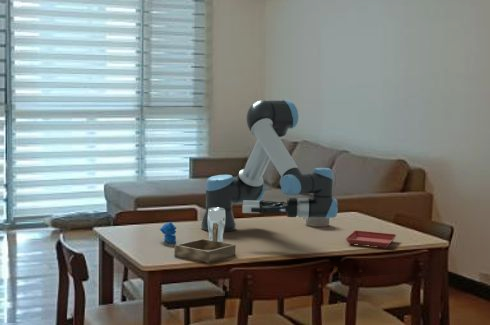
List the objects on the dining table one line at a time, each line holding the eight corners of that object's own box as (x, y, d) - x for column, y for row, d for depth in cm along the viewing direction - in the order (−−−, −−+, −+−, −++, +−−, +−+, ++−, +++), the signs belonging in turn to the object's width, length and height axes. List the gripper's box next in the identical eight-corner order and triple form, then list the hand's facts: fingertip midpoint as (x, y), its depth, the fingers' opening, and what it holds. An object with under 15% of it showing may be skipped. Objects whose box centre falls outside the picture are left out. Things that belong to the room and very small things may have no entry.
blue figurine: (171, 222, 311) (183, 220, 301) (172, 242, 310) (185, 241, 300) (155, 223, 307) (167, 222, 298) (156, 244, 307) (168, 243, 297)
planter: (333, 225, 351) (334, 204, 350) (322, 228, 342) (323, 207, 341) (312, 222, 357) (313, 202, 356) (301, 225, 348) (302, 204, 347)
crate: (174, 255, 280) (174, 245, 280) (202, 248, 293) (202, 238, 293) (207, 262, 271) (208, 251, 270) (235, 255, 283) (235, 244, 283)
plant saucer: (389, 250, 301) (389, 242, 301) (344, 246, 308) (345, 238, 307) (396, 242, 318) (397, 234, 318) (354, 237, 324) (354, 230, 324)
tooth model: (206, 244, 301) (207, 207, 300) (224, 244, 302) (225, 207, 300) (207, 248, 294) (208, 210, 293) (225, 248, 295) (226, 210, 293)
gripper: (298, 222, 283) (241, 221, 283) (295, 212, 308) (243, 211, 308) (299, 202, 282) (242, 201, 283) (295, 193, 307) (243, 192, 308)
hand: (242, 206), depth 296 cm, fingers open, 13 cm apart
